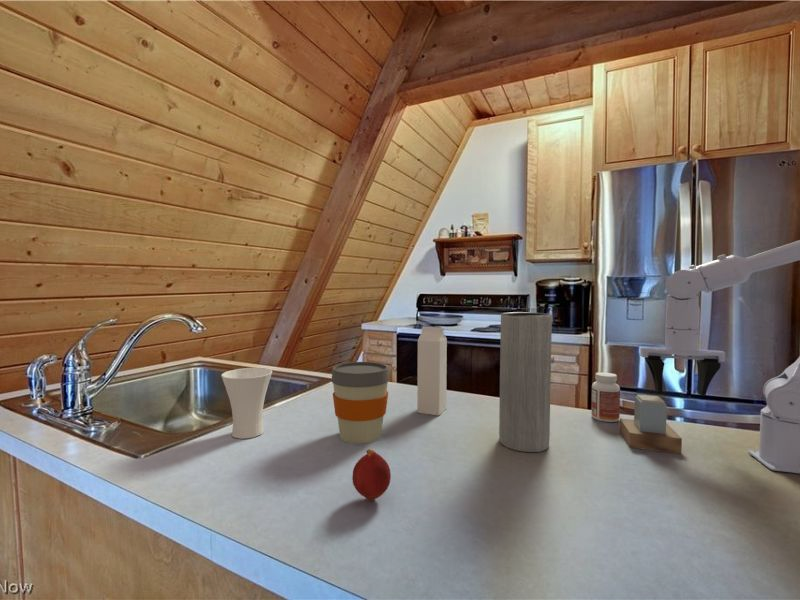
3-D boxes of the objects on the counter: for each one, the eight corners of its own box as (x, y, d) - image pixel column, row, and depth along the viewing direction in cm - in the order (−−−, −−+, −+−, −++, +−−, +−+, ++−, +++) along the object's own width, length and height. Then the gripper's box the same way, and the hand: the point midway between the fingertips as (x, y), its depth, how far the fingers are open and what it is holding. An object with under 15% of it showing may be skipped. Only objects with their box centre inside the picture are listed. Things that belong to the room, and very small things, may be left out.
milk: (425, 406, 106) (425, 325, 105) (446, 409, 103) (447, 326, 103) (417, 412, 100) (417, 327, 100) (439, 416, 98) (439, 328, 97)
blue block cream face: (658, 426, 83) (659, 395, 83) (665, 433, 79) (666, 402, 79) (634, 423, 85) (634, 393, 84) (639, 431, 80) (640, 399, 80)
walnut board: (665, 436, 85) (666, 422, 85) (681, 453, 77) (681, 438, 77) (619, 431, 88) (619, 418, 88) (629, 447, 80) (629, 432, 79)
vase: (531, 457, 75) (534, 316, 73) (489, 441, 82) (491, 313, 81) (558, 444, 81) (561, 314, 80) (516, 430, 89) (518, 311, 88)
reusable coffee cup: (321, 443, 81) (321, 371, 80) (344, 422, 93) (344, 360, 92) (379, 449, 78) (380, 375, 77) (395, 427, 90) (395, 363, 89)
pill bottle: (624, 419, 96) (625, 375, 95) (611, 424, 92) (612, 378, 92) (599, 412, 101) (600, 370, 100) (586, 417, 97) (587, 373, 97)
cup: (274, 438, 83) (274, 376, 83) (220, 446, 79) (219, 380, 79) (271, 422, 93) (270, 366, 93) (223, 428, 89) (222, 369, 89)
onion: (371, 486, 64) (371, 438, 64) (398, 498, 60) (398, 447, 60) (344, 501, 60) (344, 449, 59) (372, 515, 56) (372, 460, 56)
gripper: (714, 327, 83) (712, 391, 84) (637, 325, 87) (635, 385, 88) (731, 331, 76) (728, 400, 77) (646, 328, 81) (644, 393, 81)
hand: (679, 393), depth 82 cm, fingers open, 7 cm apart
